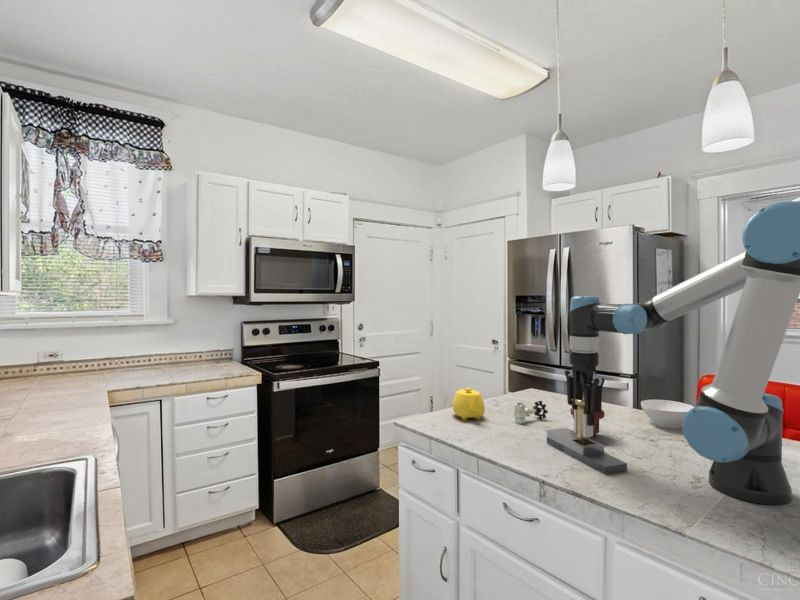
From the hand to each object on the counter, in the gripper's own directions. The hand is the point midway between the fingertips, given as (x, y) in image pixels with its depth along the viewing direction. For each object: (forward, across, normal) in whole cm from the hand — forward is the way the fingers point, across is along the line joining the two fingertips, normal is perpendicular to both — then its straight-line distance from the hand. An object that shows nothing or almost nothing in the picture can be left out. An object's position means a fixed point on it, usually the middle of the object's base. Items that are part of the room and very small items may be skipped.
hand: (583, 433), depth 124 cm
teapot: (+7, +44, +14) cm, 47 cm away
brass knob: (+5, 0, 0) cm, 5 cm away
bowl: (+6, +14, -46) cm, 48 cm away
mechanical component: (+6, +14, -13) cm, 20 cm away
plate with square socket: (+6, 0, 0) cm, 6 cm away
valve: (+7, +34, -4) cm, 35 cm away
